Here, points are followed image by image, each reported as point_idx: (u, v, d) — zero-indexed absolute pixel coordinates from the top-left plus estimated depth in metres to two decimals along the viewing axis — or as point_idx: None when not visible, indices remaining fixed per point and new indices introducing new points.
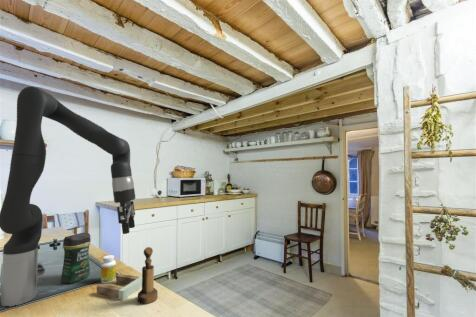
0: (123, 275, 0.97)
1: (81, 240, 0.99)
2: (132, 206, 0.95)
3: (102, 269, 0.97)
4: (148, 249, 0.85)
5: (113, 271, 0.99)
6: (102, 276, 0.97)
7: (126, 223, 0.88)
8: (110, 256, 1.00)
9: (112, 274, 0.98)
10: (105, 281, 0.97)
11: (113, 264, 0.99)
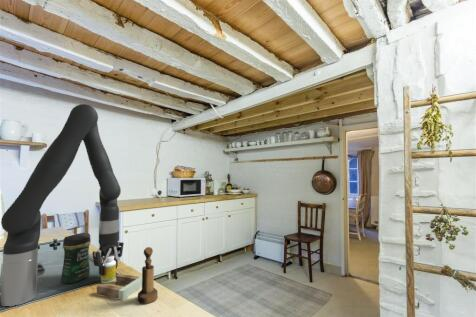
0: (123, 275, 0.97)
1: (81, 240, 0.99)
2: (115, 248, 1.01)
3: None
4: (148, 249, 0.85)
5: (113, 271, 0.99)
6: (102, 276, 0.97)
7: (103, 266, 0.96)
8: (110, 256, 1.00)
9: (112, 274, 0.98)
10: (105, 281, 0.97)
11: (113, 264, 0.99)
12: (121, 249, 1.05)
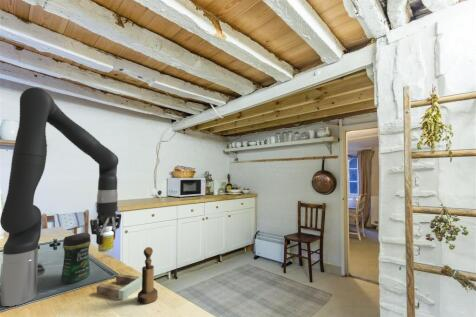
0: (123, 275, 0.97)
1: (81, 240, 0.99)
2: (113, 218, 1.00)
3: None
4: (148, 249, 0.85)
5: (111, 241, 0.98)
6: (99, 245, 0.96)
7: (100, 235, 0.95)
8: (108, 226, 0.99)
9: (109, 243, 0.97)
10: (102, 250, 0.96)
11: (111, 234, 0.98)
12: (119, 221, 1.04)
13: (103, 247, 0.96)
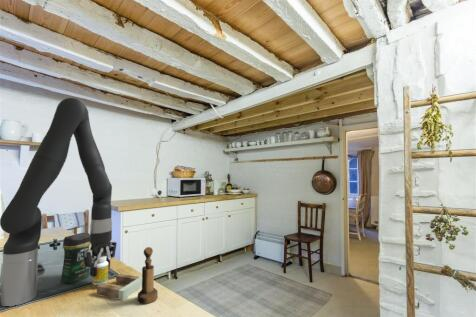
0: (123, 275, 0.97)
1: (81, 240, 0.99)
2: (107, 248, 0.96)
3: None
4: (148, 249, 0.85)
5: (105, 272, 0.94)
6: (93, 277, 0.93)
7: (94, 267, 0.92)
8: (102, 256, 0.95)
9: (104, 275, 0.94)
10: (97, 283, 0.92)
11: (105, 265, 0.94)
12: (114, 249, 1.00)
13: (97, 279, 0.92)
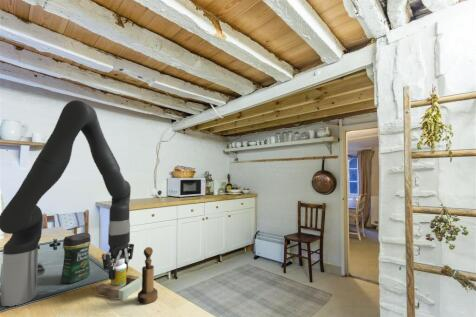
0: None
1: (81, 240, 0.99)
2: (125, 250, 0.94)
3: None
4: (148, 249, 0.85)
5: (124, 275, 0.92)
6: (112, 280, 0.90)
7: (113, 269, 0.89)
8: (120, 259, 0.93)
9: (122, 278, 0.91)
10: None
11: (124, 267, 0.92)
12: (131, 251, 0.98)
13: (116, 282, 0.90)
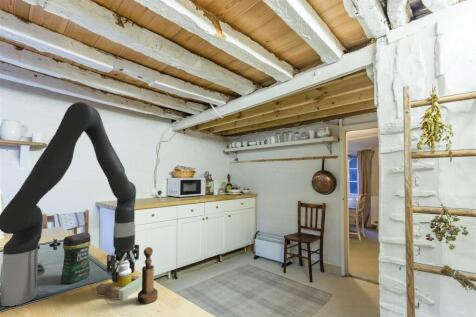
0: None
1: (81, 240, 0.99)
2: (131, 252, 0.93)
3: None
4: (148, 249, 0.85)
5: (129, 280, 0.91)
6: (117, 286, 0.89)
7: (116, 272, 0.87)
8: (125, 263, 0.92)
9: (127, 283, 0.90)
10: None
11: (129, 272, 0.91)
12: (137, 252, 0.97)
13: None
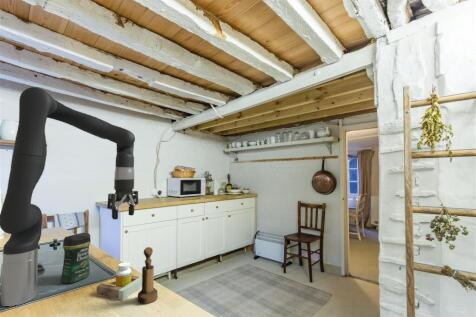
0: None
1: (81, 240, 0.99)
2: (130, 195, 1.01)
3: (117, 278, 0.89)
4: (148, 249, 0.85)
5: (129, 280, 0.91)
6: (117, 285, 0.89)
7: (115, 210, 0.95)
8: (125, 263, 0.92)
9: (127, 283, 0.90)
10: None
11: (129, 272, 0.91)
12: (137, 197, 1.06)
13: None
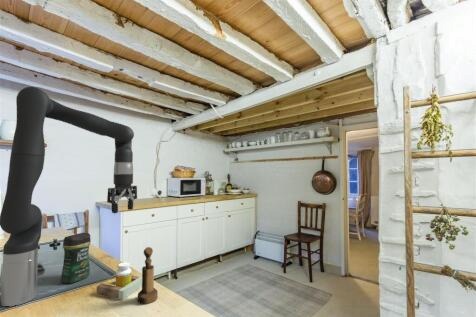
0: None
1: (81, 240, 0.99)
2: (129, 190, 1.03)
3: (117, 278, 0.89)
4: (148, 249, 0.85)
5: (129, 280, 0.91)
6: (117, 285, 0.89)
7: (115, 204, 0.97)
8: (125, 263, 0.92)
9: (127, 283, 0.90)
10: None
11: (129, 272, 0.91)
12: (135, 192, 1.08)
13: None
